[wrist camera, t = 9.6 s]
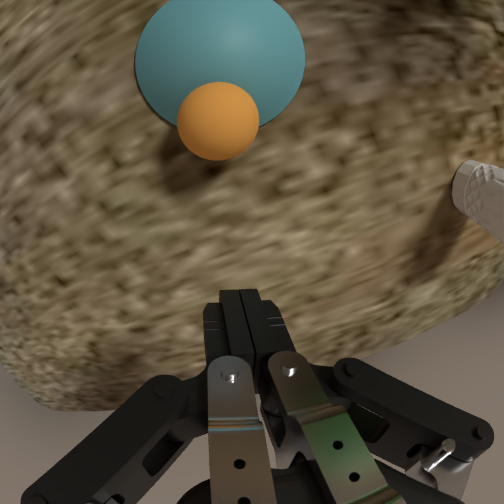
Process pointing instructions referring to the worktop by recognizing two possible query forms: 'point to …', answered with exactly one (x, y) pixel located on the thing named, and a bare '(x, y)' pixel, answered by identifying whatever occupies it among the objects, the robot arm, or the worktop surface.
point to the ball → (218, 121)
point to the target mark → (220, 53)
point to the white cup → (481, 195)
